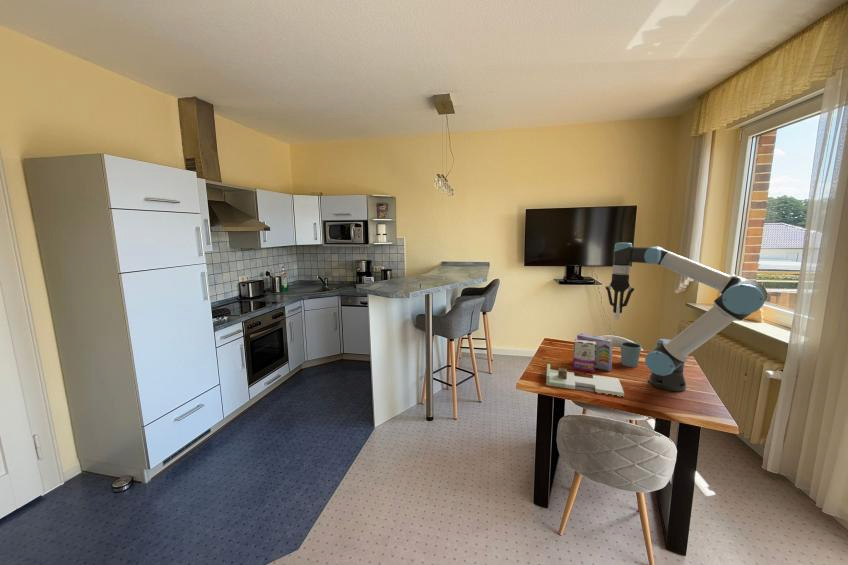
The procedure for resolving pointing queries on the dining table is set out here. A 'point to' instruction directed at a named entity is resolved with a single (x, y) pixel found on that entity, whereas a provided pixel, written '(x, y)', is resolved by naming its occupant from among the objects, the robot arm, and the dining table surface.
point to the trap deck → (585, 383)
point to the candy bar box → (584, 355)
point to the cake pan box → (600, 350)
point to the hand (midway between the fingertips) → (616, 319)
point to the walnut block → (562, 373)
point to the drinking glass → (630, 354)
